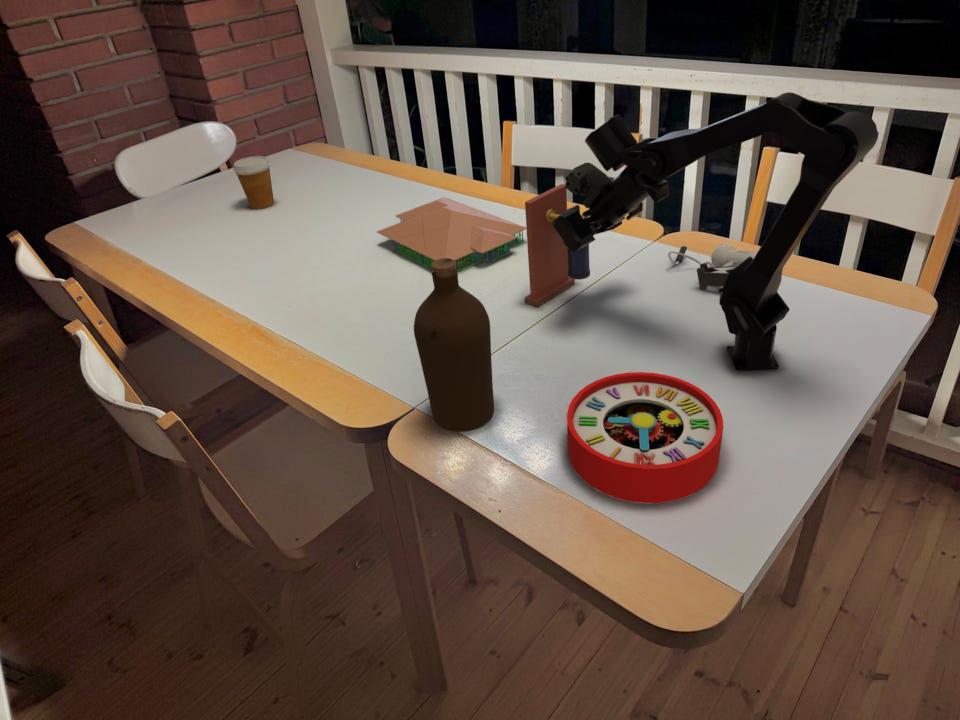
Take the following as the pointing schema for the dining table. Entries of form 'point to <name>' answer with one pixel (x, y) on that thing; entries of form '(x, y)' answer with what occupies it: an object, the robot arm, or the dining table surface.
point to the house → (451, 232)
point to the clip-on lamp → (716, 264)
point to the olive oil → (455, 352)
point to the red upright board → (546, 247)
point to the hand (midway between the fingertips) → (572, 239)
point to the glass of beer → (255, 180)
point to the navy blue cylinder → (578, 259)
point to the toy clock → (644, 437)
